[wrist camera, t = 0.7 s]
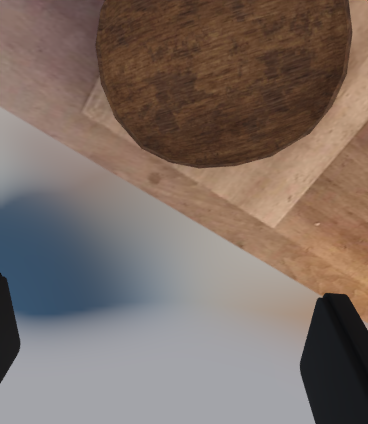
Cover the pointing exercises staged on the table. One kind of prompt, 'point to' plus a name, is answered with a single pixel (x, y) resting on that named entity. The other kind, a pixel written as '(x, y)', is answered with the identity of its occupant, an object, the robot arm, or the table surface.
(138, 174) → the table surface
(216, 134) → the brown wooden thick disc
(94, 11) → the table surface
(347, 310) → the robot arm
